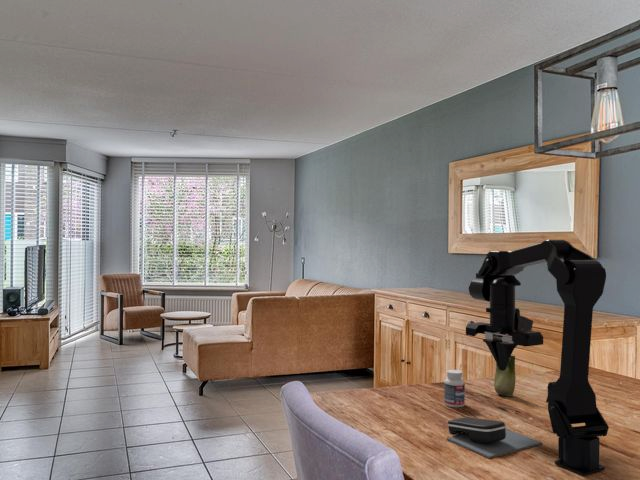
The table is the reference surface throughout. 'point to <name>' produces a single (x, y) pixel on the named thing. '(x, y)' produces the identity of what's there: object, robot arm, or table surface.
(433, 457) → the table surface
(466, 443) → the gray mat
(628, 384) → the table surface
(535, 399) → the table surface
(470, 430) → the battery charger
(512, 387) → the fennel bulb
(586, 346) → the robot arm
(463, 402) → the pill bottle
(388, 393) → the table surface
